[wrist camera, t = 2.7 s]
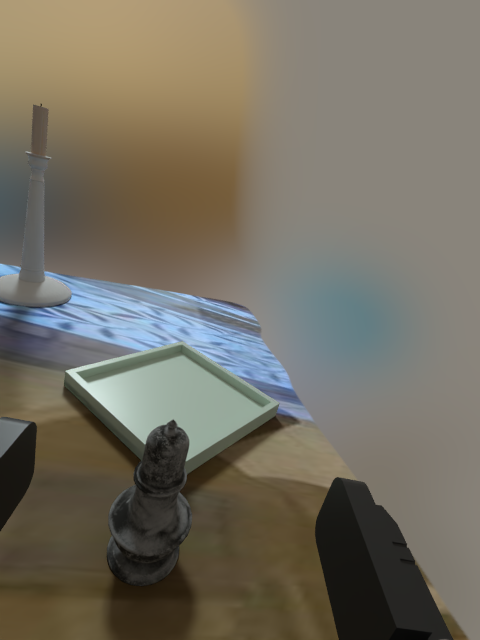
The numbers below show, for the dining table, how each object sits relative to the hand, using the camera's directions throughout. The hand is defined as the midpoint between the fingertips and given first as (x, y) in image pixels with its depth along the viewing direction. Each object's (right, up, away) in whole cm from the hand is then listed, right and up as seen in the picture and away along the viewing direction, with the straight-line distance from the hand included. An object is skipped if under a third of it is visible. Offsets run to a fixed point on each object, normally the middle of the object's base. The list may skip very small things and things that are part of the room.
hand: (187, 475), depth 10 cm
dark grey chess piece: (-6, -13, +18) cm, 23 cm away
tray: (-7, -6, +35) cm, 36 cm away
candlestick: (-35, +9, +54) cm, 65 cm away
